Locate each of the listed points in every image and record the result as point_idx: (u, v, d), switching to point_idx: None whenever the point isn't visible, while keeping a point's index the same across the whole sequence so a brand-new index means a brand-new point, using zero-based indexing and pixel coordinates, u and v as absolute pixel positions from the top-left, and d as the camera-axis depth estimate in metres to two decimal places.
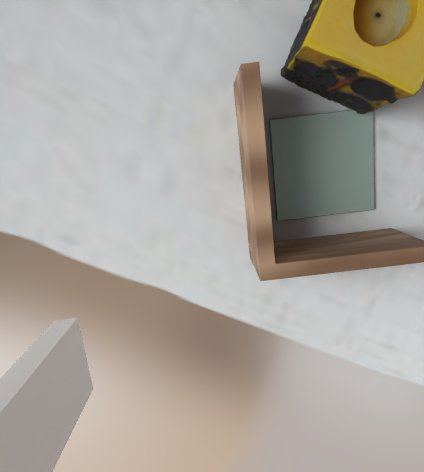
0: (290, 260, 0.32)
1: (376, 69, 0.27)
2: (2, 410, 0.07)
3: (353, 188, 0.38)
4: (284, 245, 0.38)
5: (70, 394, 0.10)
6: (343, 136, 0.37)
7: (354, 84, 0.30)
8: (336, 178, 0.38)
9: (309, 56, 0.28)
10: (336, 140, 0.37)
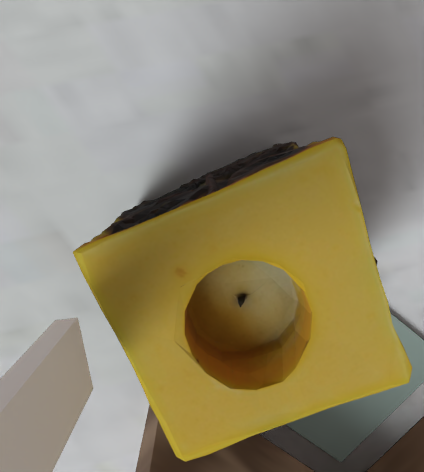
0: None
1: (317, 403, 0.13)
2: (2, 410, 0.07)
3: None
4: None
5: (70, 394, 0.10)
6: None
7: None
8: None
9: None
10: None
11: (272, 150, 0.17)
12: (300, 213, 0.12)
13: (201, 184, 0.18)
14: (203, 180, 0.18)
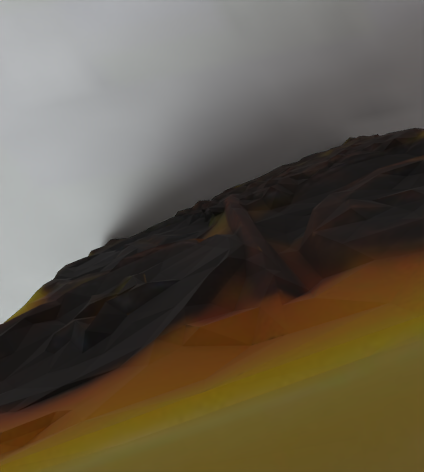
0: None
1: None
2: None
3: None
4: None
5: None
6: None
7: None
8: None
9: None
10: None
11: (370, 147, 0.08)
12: None
13: (216, 216, 0.09)
14: (220, 208, 0.09)
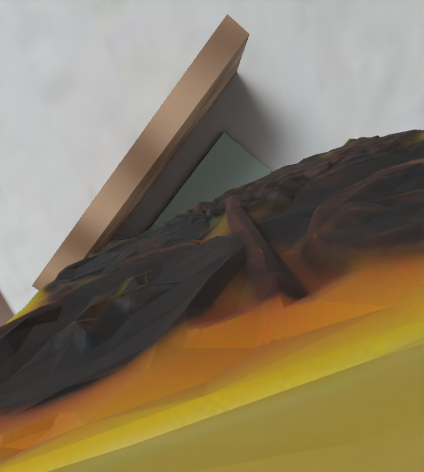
0: None
1: None
2: None
3: None
4: None
5: None
6: None
7: None
8: None
9: None
10: None
11: (371, 148, 0.08)
12: None
13: (216, 217, 0.09)
14: (220, 209, 0.09)
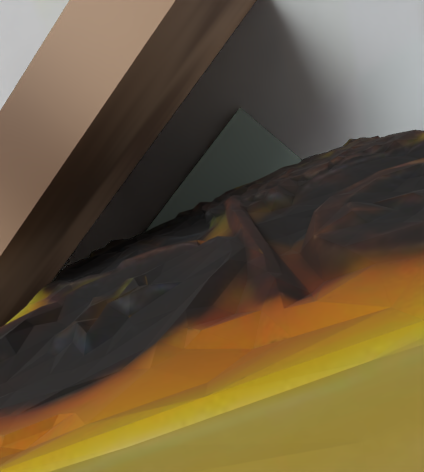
0: None
1: None
2: None
3: None
4: None
5: None
6: None
7: None
8: None
9: None
10: None
11: (371, 148, 0.08)
12: None
13: (216, 218, 0.09)
14: (220, 209, 0.09)
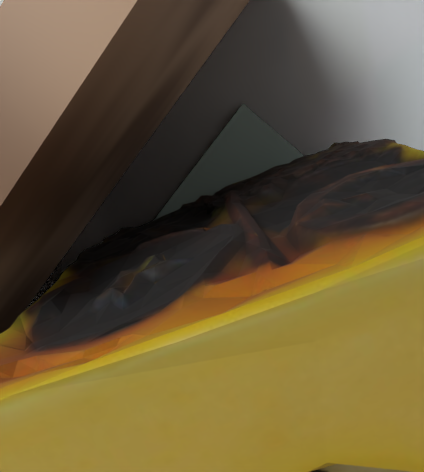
0: None
1: None
2: None
3: None
4: None
5: None
6: None
7: None
8: None
9: None
10: None
11: (349, 153, 0.10)
12: None
13: (217, 209, 0.11)
14: (221, 202, 0.11)
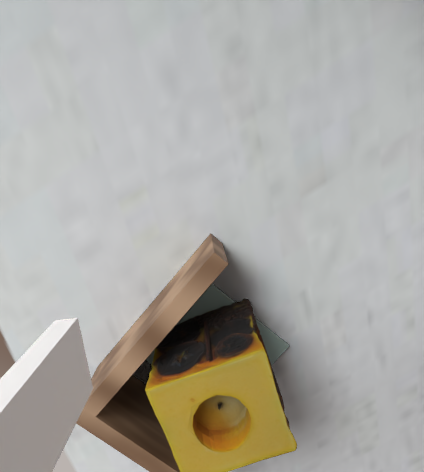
0: (111, 423, 0.30)
1: (252, 459, 0.28)
2: (2, 410, 0.07)
3: None
4: (129, 388, 0.35)
5: (70, 394, 0.10)
6: None
7: None
8: None
9: None
10: None
11: (240, 315, 0.33)
12: (246, 377, 0.27)
13: (201, 328, 0.33)
14: (202, 326, 0.33)
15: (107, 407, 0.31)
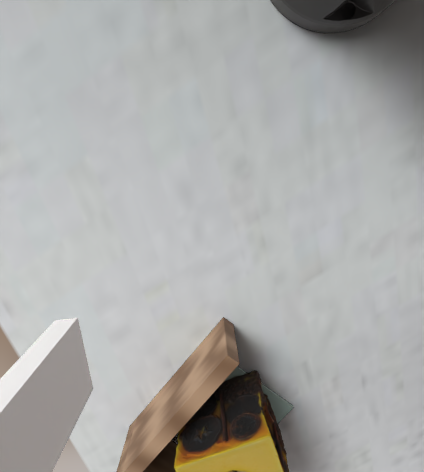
0: None
1: None
2: (2, 410, 0.07)
3: None
4: None
5: (70, 394, 0.10)
6: None
7: None
8: None
9: None
10: None
11: (250, 391, 0.38)
12: (256, 456, 0.33)
13: (217, 400, 0.39)
14: (218, 398, 0.39)
15: None
